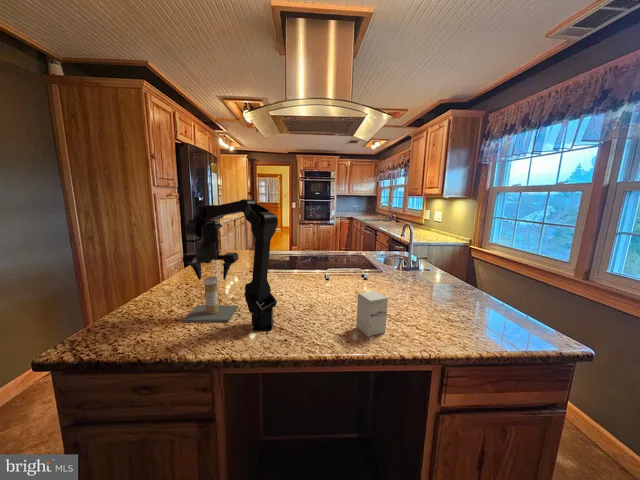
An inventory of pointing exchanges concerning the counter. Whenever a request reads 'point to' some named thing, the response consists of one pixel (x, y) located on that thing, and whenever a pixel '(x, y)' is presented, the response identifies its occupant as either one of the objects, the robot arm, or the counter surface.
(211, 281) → the sprinkles bottle
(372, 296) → the supplement box
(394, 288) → the counter surface
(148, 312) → the counter surface
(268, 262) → the robot arm
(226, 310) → the gray tray
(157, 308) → the counter surface
